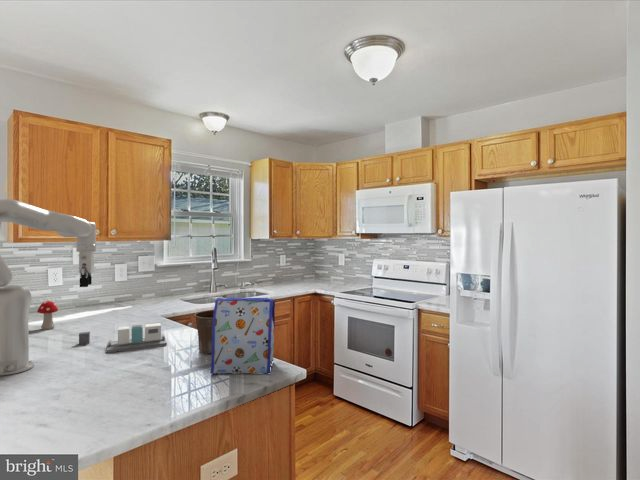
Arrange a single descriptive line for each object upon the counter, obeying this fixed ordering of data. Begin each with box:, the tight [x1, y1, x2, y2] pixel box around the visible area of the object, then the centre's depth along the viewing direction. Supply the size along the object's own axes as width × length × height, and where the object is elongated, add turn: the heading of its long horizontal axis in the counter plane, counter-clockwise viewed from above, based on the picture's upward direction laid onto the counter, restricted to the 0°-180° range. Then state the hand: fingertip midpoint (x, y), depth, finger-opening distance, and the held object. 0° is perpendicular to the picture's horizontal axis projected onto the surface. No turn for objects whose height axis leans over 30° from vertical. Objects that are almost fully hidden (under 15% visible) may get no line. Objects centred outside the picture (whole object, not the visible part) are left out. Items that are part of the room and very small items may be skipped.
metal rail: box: [107, 334, 166, 347], centre depth 169 cm, size 4×23×2 cm, turn 117°
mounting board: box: [105, 335, 168, 354], centre depth 169 cm, size 14×24×1 cm, turn 117°
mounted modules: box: [117, 322, 162, 344], centre depth 169 cm, size 6×18×6 cm, turn 117°
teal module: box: [131, 324, 144, 343], centre depth 169 cm, size 6×4×7 cm
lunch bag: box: [210, 297, 276, 375], centre depth 139 cm, size 23×17×27 cm
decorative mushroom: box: [37, 300, 59, 331], centre depth 199 cm, size 10×9×15 cm
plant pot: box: [194, 309, 214, 355], centre depth 161 cm, size 16×16×16 cm
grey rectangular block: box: [78, 331, 91, 346], centre depth 171 cm, size 3×4×5 cm
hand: (85, 285), depth 168 cm, fingers open, 9 cm apart
